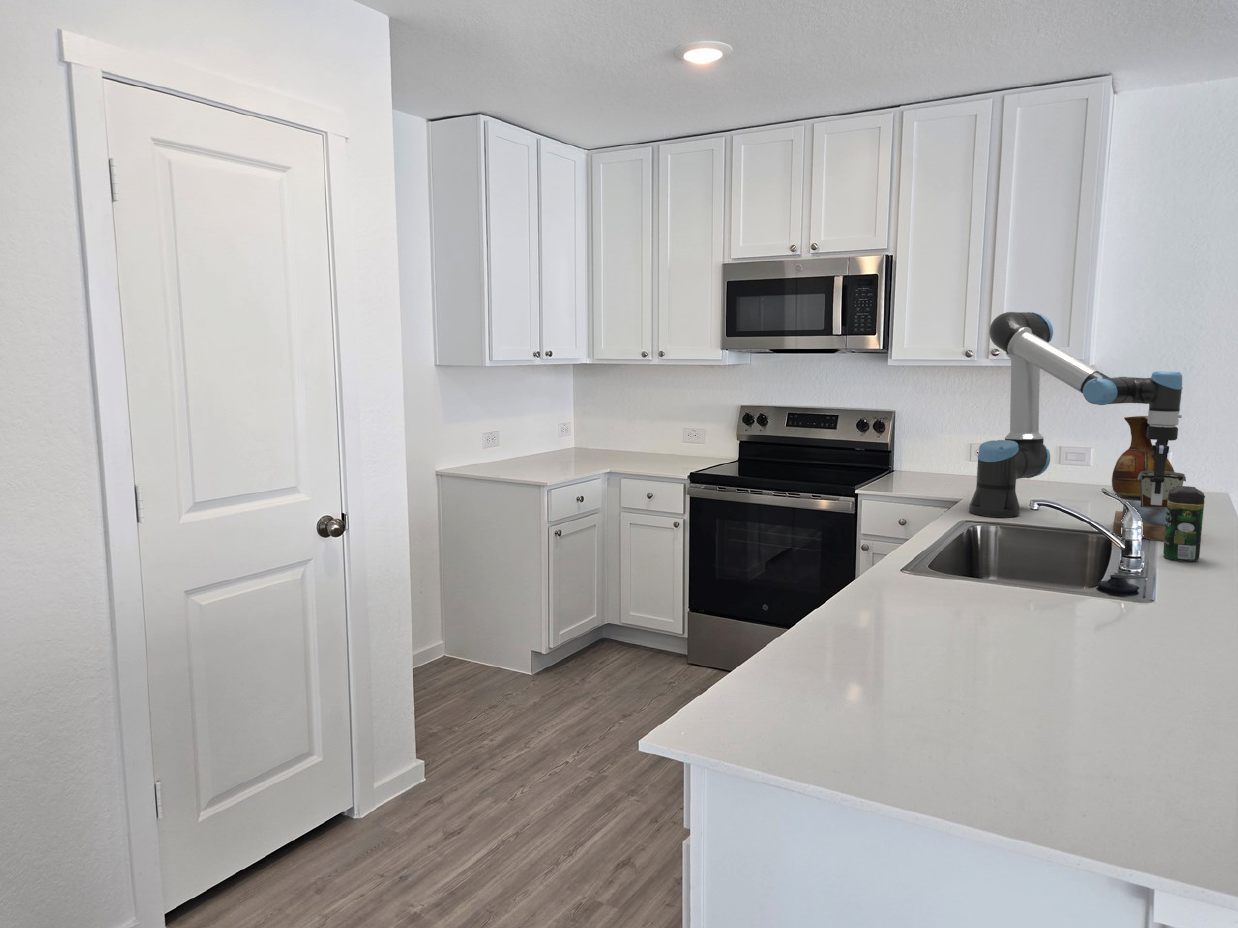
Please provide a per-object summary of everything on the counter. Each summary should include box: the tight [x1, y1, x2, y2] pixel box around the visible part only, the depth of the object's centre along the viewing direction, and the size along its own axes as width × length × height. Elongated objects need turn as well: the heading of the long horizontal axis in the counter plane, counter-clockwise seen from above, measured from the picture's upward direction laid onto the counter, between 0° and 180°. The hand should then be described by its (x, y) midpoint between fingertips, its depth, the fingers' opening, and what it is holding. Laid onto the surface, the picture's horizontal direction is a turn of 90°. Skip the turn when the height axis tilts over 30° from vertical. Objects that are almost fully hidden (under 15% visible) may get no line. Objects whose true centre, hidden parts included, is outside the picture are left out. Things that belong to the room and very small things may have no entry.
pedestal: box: [1112, 499, 1167, 542], centre depth 250 cm, size 20×20×8 cm
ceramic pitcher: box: [1111, 415, 1175, 498], centre depth 306 cm, size 20×20×30 cm
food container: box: [1137, 471, 1187, 508], centre depth 249 cm, size 12×6×10 cm, turn 80°
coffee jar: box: [1162, 485, 1206, 563], centre depth 220 cm, size 10×8×19 cm
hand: (1155, 501), depth 249 cm, fingers open, 11 cm apart
